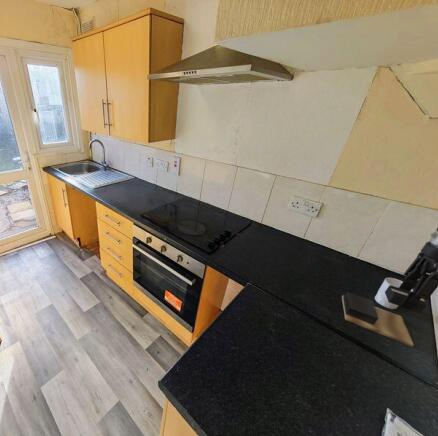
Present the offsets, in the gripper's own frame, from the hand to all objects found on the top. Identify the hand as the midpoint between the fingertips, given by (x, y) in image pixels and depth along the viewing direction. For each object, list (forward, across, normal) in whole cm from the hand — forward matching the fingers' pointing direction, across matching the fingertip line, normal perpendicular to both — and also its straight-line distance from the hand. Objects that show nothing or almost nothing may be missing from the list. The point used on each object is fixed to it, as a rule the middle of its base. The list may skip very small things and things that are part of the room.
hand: (402, 301), depth 79 cm
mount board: (+11, +1, -4) cm, 11 cm away
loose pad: (0, 0, 0) cm, 0 cm away
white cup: (+11, -13, +2) cm, 17 cm away
